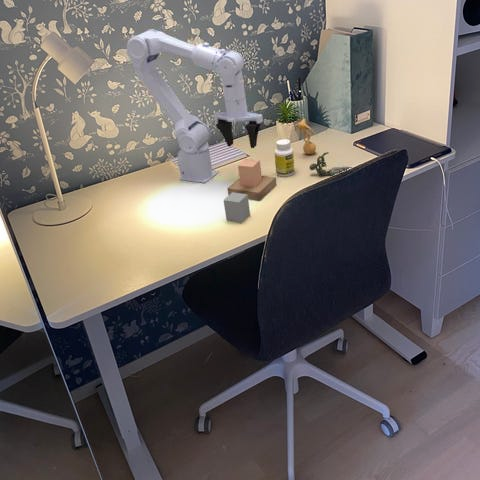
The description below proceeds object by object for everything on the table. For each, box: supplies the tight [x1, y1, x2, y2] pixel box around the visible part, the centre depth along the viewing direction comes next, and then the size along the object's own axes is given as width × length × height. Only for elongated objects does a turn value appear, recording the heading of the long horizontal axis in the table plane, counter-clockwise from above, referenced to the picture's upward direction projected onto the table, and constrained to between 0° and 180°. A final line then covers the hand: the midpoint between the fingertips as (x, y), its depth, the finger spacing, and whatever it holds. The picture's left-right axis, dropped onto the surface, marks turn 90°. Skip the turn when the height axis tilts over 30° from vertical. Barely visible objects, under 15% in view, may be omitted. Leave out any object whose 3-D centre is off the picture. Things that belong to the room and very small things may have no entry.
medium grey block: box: [223, 192, 251, 224], centre depth 139 cm, size 4×4×6 cm
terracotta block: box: [237, 158, 263, 187], centre depth 150 cm, size 4×4×6 cm
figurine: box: [294, 118, 318, 155], centre depth 166 cm, size 8×6×12 cm
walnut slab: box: [227, 175, 278, 202], centre depth 152 cm, size 10×10×3 cm
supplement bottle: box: [274, 139, 295, 177], centre depth 158 cm, size 5×5×10 cm
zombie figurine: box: [309, 152, 353, 177], centre depth 154 cm, size 5×7×15 cm
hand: (242, 145), depth 154 cm, fingers open, 7 cm apart
